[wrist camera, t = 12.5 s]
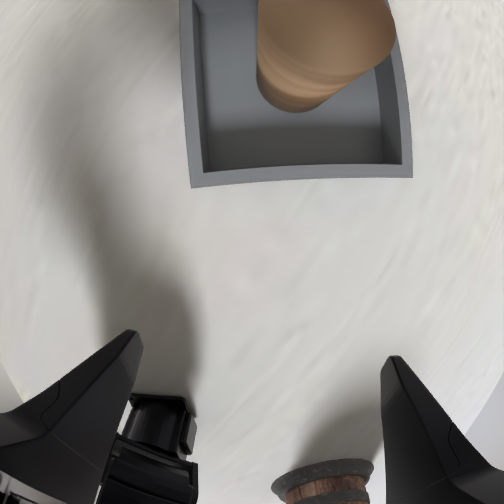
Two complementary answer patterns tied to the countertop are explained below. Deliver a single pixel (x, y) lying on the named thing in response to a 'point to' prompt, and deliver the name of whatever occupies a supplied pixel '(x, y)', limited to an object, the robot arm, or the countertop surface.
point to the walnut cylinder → (318, 48)
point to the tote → (275, 120)
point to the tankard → (326, 483)
